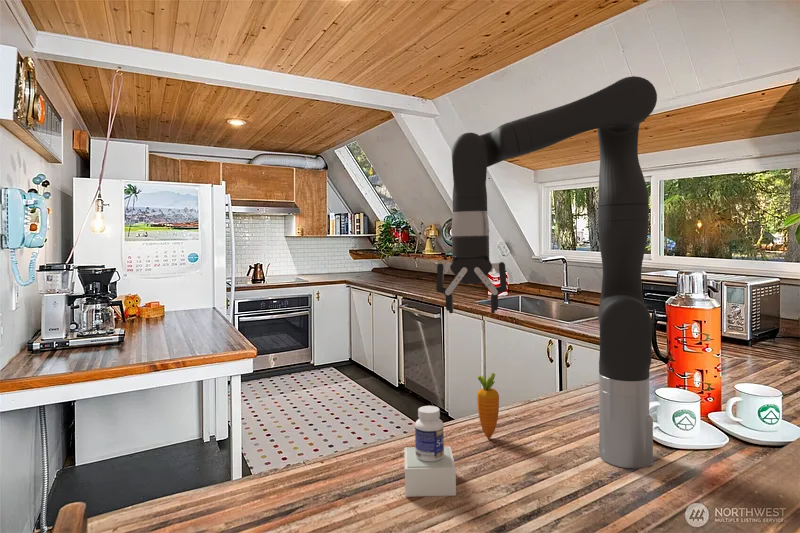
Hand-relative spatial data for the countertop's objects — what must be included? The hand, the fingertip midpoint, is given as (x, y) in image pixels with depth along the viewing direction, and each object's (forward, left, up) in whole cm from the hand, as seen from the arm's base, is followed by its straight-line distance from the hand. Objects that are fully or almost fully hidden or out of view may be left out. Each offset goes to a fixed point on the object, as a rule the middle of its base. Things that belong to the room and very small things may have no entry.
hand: (471, 312), depth 100 cm
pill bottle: (+8, +13, -25) cm, 29 cm away
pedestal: (+8, +13, -30) cm, 34 cm away
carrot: (-3, -9, -30) cm, 32 cm away
